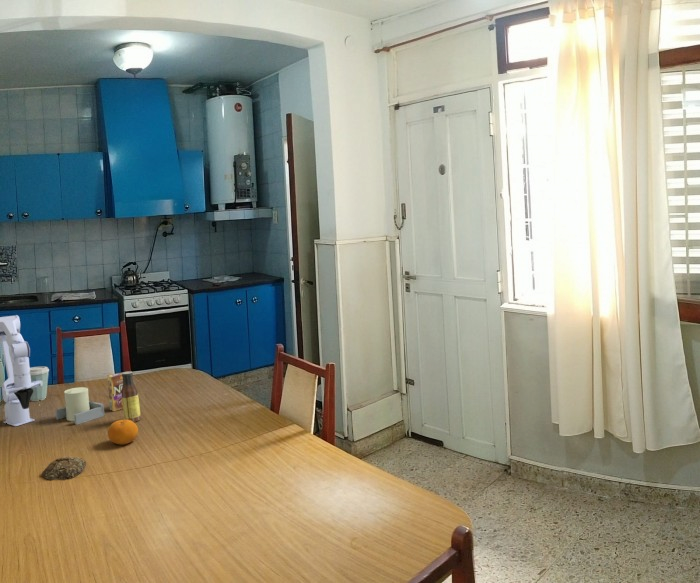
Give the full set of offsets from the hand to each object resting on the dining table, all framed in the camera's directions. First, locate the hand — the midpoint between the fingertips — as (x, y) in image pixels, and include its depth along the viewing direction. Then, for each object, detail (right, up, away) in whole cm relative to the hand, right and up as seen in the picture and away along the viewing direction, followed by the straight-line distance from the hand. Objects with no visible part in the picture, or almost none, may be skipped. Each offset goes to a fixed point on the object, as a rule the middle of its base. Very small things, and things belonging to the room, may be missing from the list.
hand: (25, 408), depth 240 cm
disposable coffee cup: (-17, -5, +45) cm, 48 cm away
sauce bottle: (+38, -7, +10) cm, 40 cm away
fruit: (+43, -10, -14) cm, 46 cm away
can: (+13, -7, +17) cm, 22 cm away
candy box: (+27, -5, +27) cm, 39 cm away
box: (+14, -7, +16) cm, 23 cm away
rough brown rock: (+33, -14, -39) cm, 52 cm away
